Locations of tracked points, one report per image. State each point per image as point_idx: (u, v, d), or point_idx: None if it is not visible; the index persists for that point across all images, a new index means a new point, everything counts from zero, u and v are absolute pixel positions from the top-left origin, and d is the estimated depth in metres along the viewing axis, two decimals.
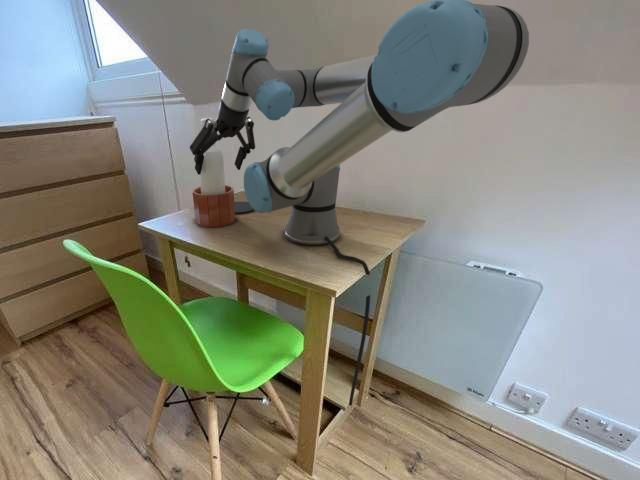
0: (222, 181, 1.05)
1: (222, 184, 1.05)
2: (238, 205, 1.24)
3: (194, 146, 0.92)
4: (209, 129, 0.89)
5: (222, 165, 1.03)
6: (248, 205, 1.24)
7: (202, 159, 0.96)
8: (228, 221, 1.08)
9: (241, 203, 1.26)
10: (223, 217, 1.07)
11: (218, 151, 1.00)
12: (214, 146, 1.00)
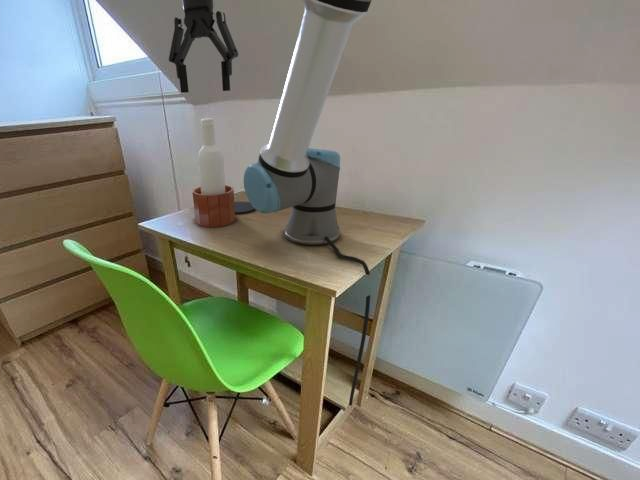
0: (222, 181, 1.05)
1: (222, 184, 1.05)
2: (238, 205, 1.24)
3: None
4: (176, 24, 0.87)
5: (222, 165, 1.03)
6: (248, 205, 1.24)
7: (179, 68, 0.93)
8: (228, 221, 1.08)
9: (241, 203, 1.26)
10: (223, 217, 1.07)
11: (218, 151, 1.00)
12: (214, 146, 1.00)
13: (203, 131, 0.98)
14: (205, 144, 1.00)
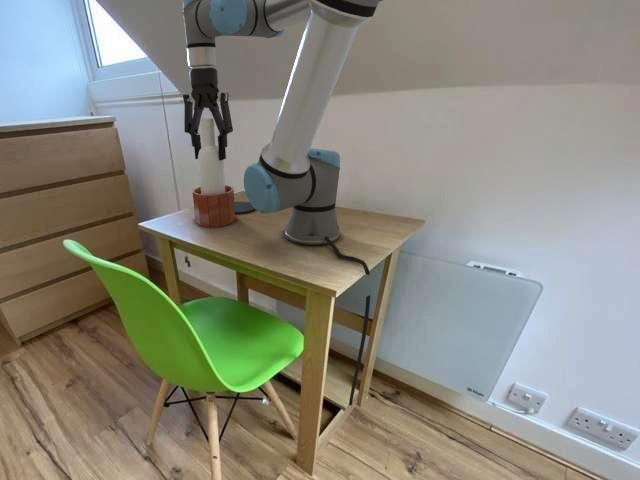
0: (222, 181, 1.05)
1: (222, 184, 1.05)
2: (238, 205, 1.24)
3: None
4: (185, 100, 0.96)
5: (222, 165, 1.03)
6: (248, 205, 1.24)
7: (194, 139, 1.01)
8: (228, 221, 1.08)
9: (241, 203, 1.26)
10: (223, 217, 1.07)
11: (218, 151, 1.00)
12: (214, 146, 1.00)
13: (203, 131, 0.98)
14: (205, 144, 1.00)
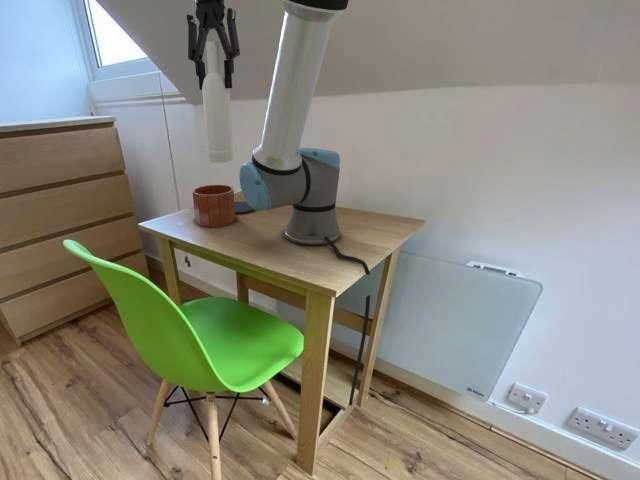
0: (228, 114, 0.99)
1: (228, 117, 0.99)
2: (238, 205, 1.24)
3: None
4: (189, 21, 0.90)
5: (228, 95, 0.97)
6: (248, 205, 1.24)
7: (198, 66, 0.95)
8: (228, 221, 1.08)
9: (241, 203, 1.26)
10: (223, 217, 1.07)
11: (224, 79, 0.94)
12: (220, 73, 0.94)
13: (208, 56, 0.92)
14: (210, 71, 0.94)
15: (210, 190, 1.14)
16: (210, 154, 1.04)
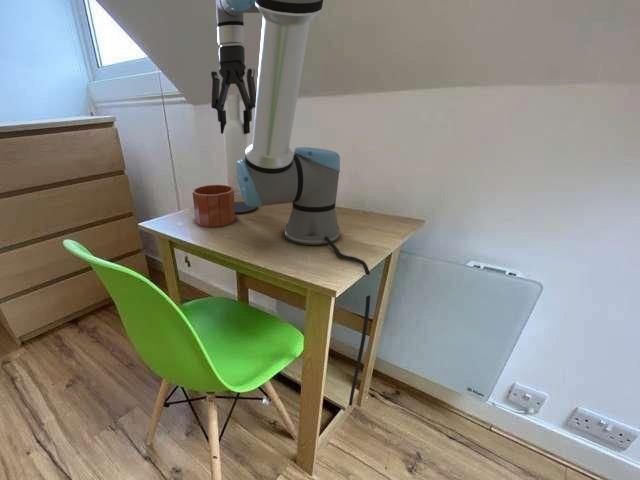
0: None
1: None
2: (238, 205, 1.24)
3: None
4: (213, 77, 1.04)
5: (246, 139, 1.10)
6: None
7: (220, 114, 1.08)
8: (228, 221, 1.08)
9: (241, 203, 1.26)
10: (223, 217, 1.07)
11: (243, 125, 1.07)
12: (239, 120, 1.07)
13: (229, 106, 1.05)
14: (231, 118, 1.07)
15: (210, 190, 1.14)
16: None
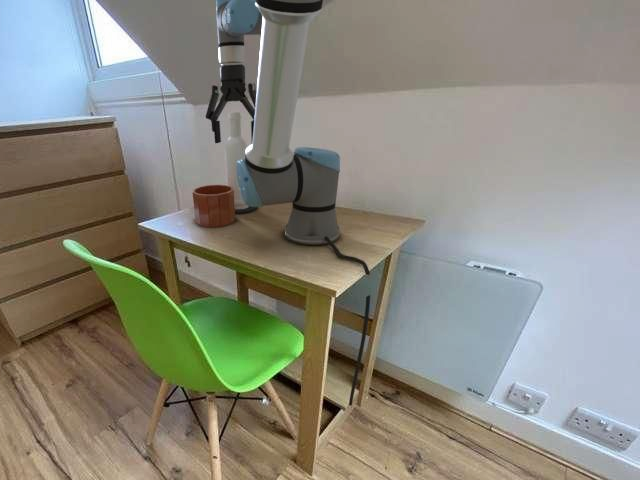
0: None
1: None
2: None
3: None
4: (213, 90, 1.06)
5: None
6: None
7: (214, 124, 1.11)
8: (228, 221, 1.08)
9: None
10: (223, 217, 1.07)
11: (244, 142, 1.10)
12: (240, 137, 1.10)
13: (230, 124, 1.08)
14: (232, 136, 1.09)
15: (210, 190, 1.14)
16: None
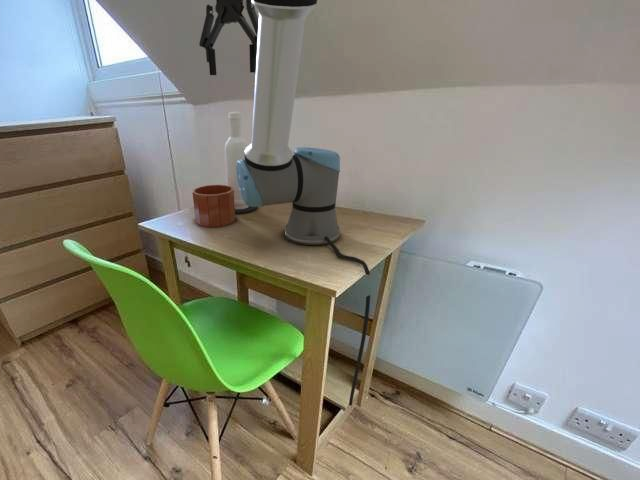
0: None
1: None
2: None
3: None
4: (207, 11, 0.95)
5: None
6: None
7: (209, 52, 1.00)
8: (228, 221, 1.08)
9: None
10: (223, 217, 1.07)
11: (244, 142, 1.10)
12: (240, 137, 1.10)
13: (230, 124, 1.08)
14: (232, 136, 1.09)
15: (210, 190, 1.14)
16: None
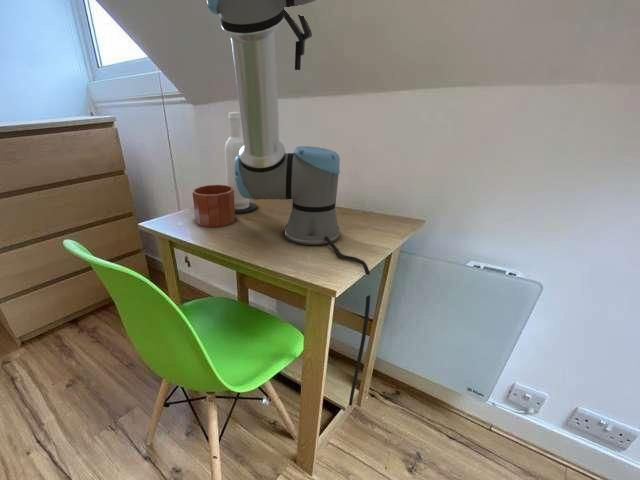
0: None
1: None
2: None
3: None
4: None
5: None
6: None
7: None
8: (228, 221, 1.08)
9: None
10: (223, 217, 1.07)
11: None
12: (240, 137, 1.10)
13: (230, 124, 1.08)
14: (232, 136, 1.09)
15: (210, 190, 1.14)
16: None
